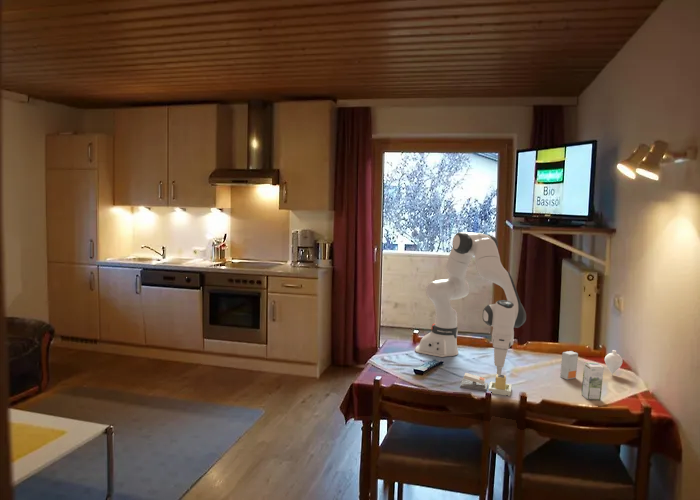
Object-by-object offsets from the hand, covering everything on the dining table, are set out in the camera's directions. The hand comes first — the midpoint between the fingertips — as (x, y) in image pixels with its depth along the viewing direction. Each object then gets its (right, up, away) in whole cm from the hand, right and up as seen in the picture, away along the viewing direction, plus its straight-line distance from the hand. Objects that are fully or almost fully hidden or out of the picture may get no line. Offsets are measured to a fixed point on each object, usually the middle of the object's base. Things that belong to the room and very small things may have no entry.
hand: (499, 370), depth 234 cm
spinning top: (+60, -8, +26) cm, 66 cm away
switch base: (-10, -8, +5) cm, 14 cm away
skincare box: (+37, -8, +20) cm, 43 cm away
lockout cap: (0, -8, +1) cm, 8 cm away
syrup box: (+37, -11, -4) cm, 39 cm away
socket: (0, -9, +1) cm, 9 cm away
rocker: (-10, -5, +5) cm, 12 cm away
